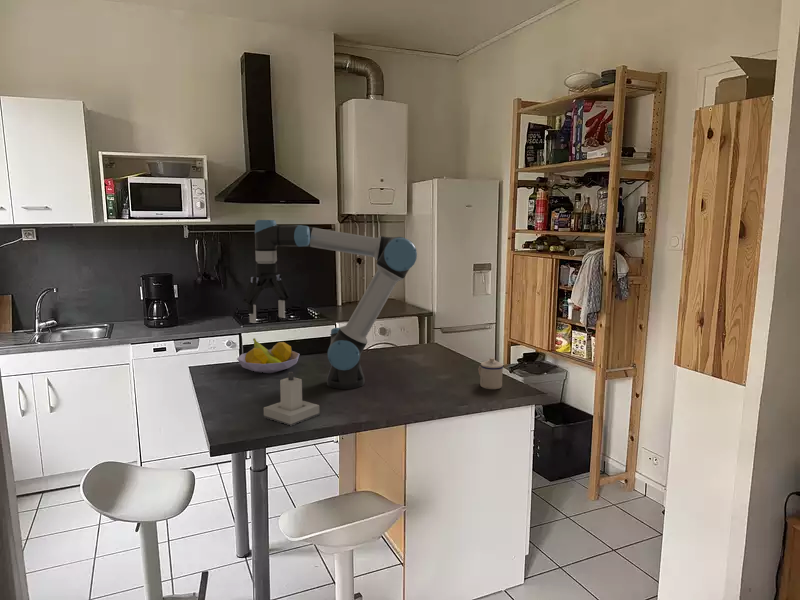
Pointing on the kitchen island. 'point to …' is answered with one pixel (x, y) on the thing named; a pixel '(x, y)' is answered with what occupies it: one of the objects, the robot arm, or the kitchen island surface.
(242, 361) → the fruit bowl
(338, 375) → the robot arm
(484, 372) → the teacup with lid
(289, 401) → the plug
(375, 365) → the kitchen island surface
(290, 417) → the socket
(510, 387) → the kitchen island surface
